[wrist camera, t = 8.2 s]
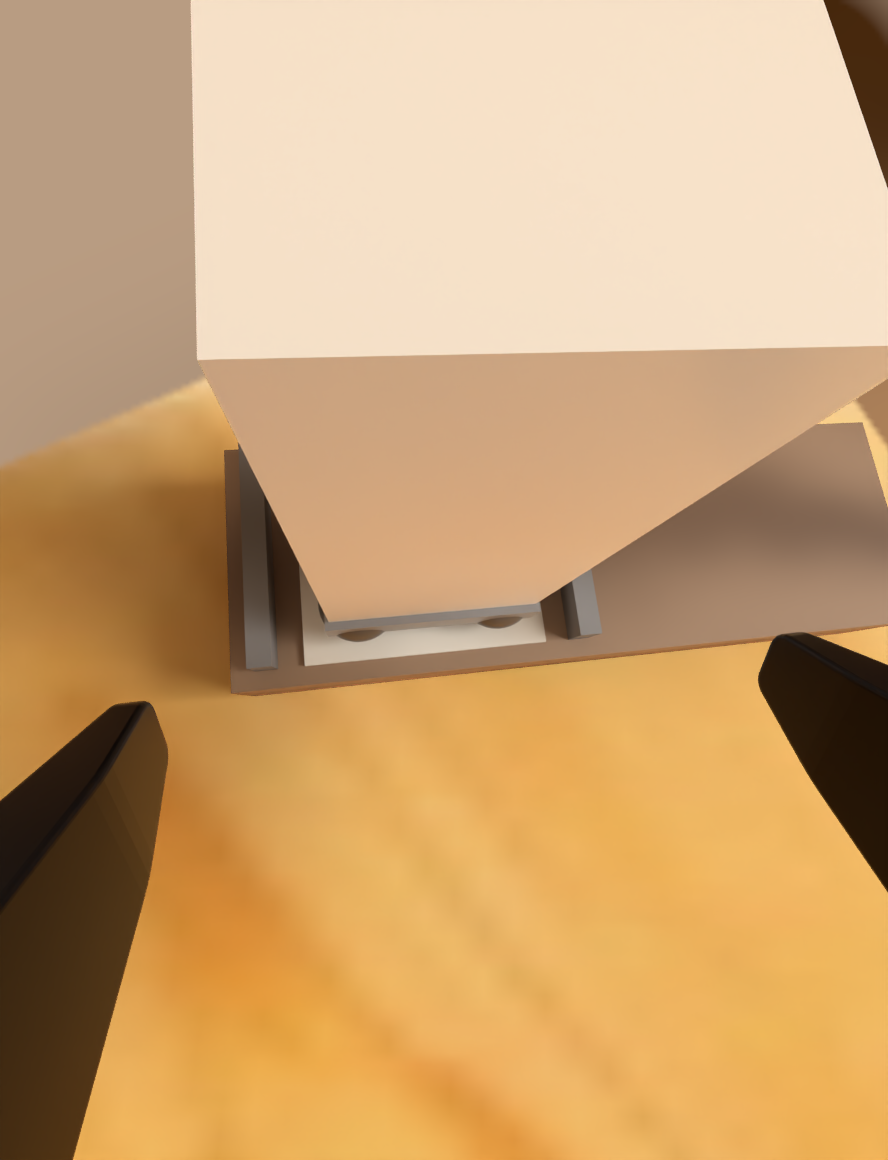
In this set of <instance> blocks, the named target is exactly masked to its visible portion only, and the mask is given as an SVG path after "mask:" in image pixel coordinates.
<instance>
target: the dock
mask: <svg viewBox="0 0 888 1160" xmlns="http://www.w3.org/2000/svg"><path fill="white" fill-rule="evenodd" d="M238 447H239V450H224V459H225V494H226V529H227V565H228V600H229V635H230V670H231V693H232V694H241V695H251V696H260V695H269V694H278V693H288V692H297V691H306V690H316V689H325V688H334V687H344V686H353V685H362V684H372V683H381V682H390V681H400V680H409V679H418V678H428V677H437V676H446V675H456V674H465V673H475V672H484V671H493V670H503V669H512V668H521V667H531V666H540V665H549V664H559V663H568V662H577V661H587V660H596V659H605V658H615V657H624V656H633V655H643V654H652V653H661V652H671V651H680V650H689V649H699V648H708V647H718V646H727V645H736V644H746V643H755V642H764V641H773V639H774V638H775V637H776V636H778V635H780V634H785V633H795V632H806V633H809V634H812V635H814V636H820V635H830V634H839V633H846V632H853V631H859V630H865V629H871V628H877V627H884V626H888V507H887V504H886V501H885V497H884V494H883V490H882V487H881V484H880V480H879V477H878V474H877V470H876V467H875V464H874V460H873V457H872V453H871V450H870V447H869V443H868V440H867V437H866V433H865V430H864V427H863V423H839V424H816V425H815V426H813V427H811V428H810V429H808V430H807V431H805V432H804V433H802V434H800V435H799V436H797V437H796V438H794V439H793V440H791V441H790V442H788V443H786V444H785V445H783V446H782V447H780V448H779V449H777V450H775V451H774V452H772V453H771V454H769V455H768V456H766V457H765V458H763V459H761V460H760V461H758V462H757V463H755V464H754V465H752V466H750V467H749V468H747V469H746V470H744V471H743V472H741V473H740V474H738V475H736V476H735V477H733V478H732V479H730V480H729V481H727V482H725V483H724V484H722V485H721V486H719V487H718V488H716V489H715V490H713V491H711V492H710V493H708V494H707V495H705V496H704V497H702V498H700V499H699V500H697V501H696V502H694V503H693V504H691V505H690V506H688V507H686V508H685V509H683V510H682V511H680V512H679V513H677V514H675V515H674V516H672V517H671V518H669V519H668V520H666V521H665V522H663V523H661V524H660V525H658V526H657V527H655V528H654V529H652V530H650V531H649V532H647V533H646V534H644V535H643V536H641V537H640V538H638V539H636V540H635V541H633V542H632V543H630V544H629V545H627V546H625V547H624V548H622V549H621V550H619V551H618V552H616V553H615V554H613V555H611V556H610V557H608V558H607V559H605V560H604V561H602V562H600V563H599V564H597V565H596V566H594V567H593V568H591V569H590V570H588V571H586V572H585V573H583V574H582V575H580V576H579V577H577V578H575V579H574V580H572V581H571V582H569V583H568V584H566V585H565V586H563V587H561V588H560V589H558V590H557V591H555V592H554V593H552V594H550V595H549V596H547V597H546V598H544V599H543V600H541V601H540V608H541V612H539V613H537V614H536V615H534V616H532V617H531V618H524V619H521V620H520V621H519V622H517V623H516V624H514V625H512V626H509V627H506V628H501V629H492V628H487V627H484V626H481V625H479V624H477V623H471V624H460V625H449V626H438V627H428V628H417V629H406V630H396V631H385V632H384V633H382V634H381V635H380V636H378V637H376V638H374V639H372V640H369V641H364V642H351V641H346V640H344V639H341V638H339V637H337V636H331V637H328V635H327V634H326V632H325V624H324V623H323V621H322V619H321V617H320V613H319V609H318V600H317V598H316V596H315V594H314V592H313V590H312V588H311V586H310V584H309V582H308V580H307V578H306V576H305V574H304V572H303V570H302V568H301V566H300V564H299V562H298V560H297V558H296V556H295V554H294V552H293V550H292V548H291V546H290V544H289V542H288V540H287V538H286V536H285V534H284V532H283V530H282V528H281V526H280V524H279V522H278V520H277V518H276V516H275V514H274V512H273V510H272V508H271V506H270V504H269V502H268V500H267V498H266V496H265V494H264V492H263V490H262V488H261V486H260V484H259V482H258V480H257V478H256V476H255V474H254V472H253V470H252V468H251V466H250V464H249V462H248V460H247V458H246V456H245V454H244V452H243V450H242V448H241V446H240V444H239V442H238Z"/></svg>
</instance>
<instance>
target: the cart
mask: <svg viewBox="0 0 888 1160" xmlns="http://www.w3.org/2000/svg"><path fill="white" fill-rule="evenodd" d="M191 33H192V34H191V40H192V97H193V152H194V207H195V208H194V210H195V263H196V266H195V267H196V322H197V361H198V362H199V365H200V366H201V368H202V371H203V373H204V375H205V377H206V379H207V381H208V383H209V385H210V386H211V388H212V390H213V392H214V394H215V396H216V398H217V400H218V402H219V404H220V406H221V408H222V410H223V412H224V414H225V416H226V418H227V420H228V422H229V424H230V426H231V428H232V430H233V432H234V434H235V436H236V438H237V440H238V442H239V444H240V446H241V448H242V450H243V452H244V454H245V456H246V458H247V460H248V462H249V464H250V466H251V468H252V470H253V472H254V474H255V476H256V478H257V480H258V482H259V484H260V486H261V488H262V490H263V492H264V494H265V496H266V498H267V500H268V502H269V504H270V506H271V508H272V510H273V512H274V514H275V516H276V518H277V520H278V522H279V524H280V526H281V528H282V530H283V532H284V534H285V536H286V538H287V540H288V542H289V544H290V546H291V548H292V550H293V552H294V554H295V556H296V558H297V560H298V562H299V564H300V566H301V568H302V570H303V572H304V574H305V576H306V578H307V580H308V582H309V584H310V586H311V588H312V590H313V592H314V594H315V596H316V598H317V600H318V609H319V613H320V617H321V619H322V621H323V623H324V624H325V632H326V634H327V635H328V637H331V636H337V637H339V638H341V639H344V640H346V641H351V642H364V641H369V640H372V639H374V638H376V637H378V636H380V635H381V634H382V633H384V632H385V631H396V630H406V629H417V628H428V627H438V626H449V625H460V624H471V623H477V624H479V625H481V626H484V627H487V628H492V629H501V628H506V627H509V626H512V625H514V624H516V623H517V622H519V621H520V620H521V619H524V618H531V617H532V616H534V615H536V614H537V613H539V612H541V608H540V601H541V600H543V599H544V598H546V597H547V596H549V595H550V594H552V593H554V592H555V591H557V590H558V589H560V588H561V587H563V586H565V585H566V584H568V583H569V582H571V581H572V580H574V579H575V578H577V577H579V576H580V575H582V574H583V573H585V572H586V571H588V570H590V569H591V568H593V567H594V566H596V565H597V564H599V563H600V562H602V561H604V560H605V559H607V558H608V557H610V556H611V555H613V554H615V553H616V552H618V551H619V550H621V549H622V548H624V547H625V546H627V545H629V544H630V543H632V542H633V541H635V540H636V539H638V538H640V537H641V536H643V535H644V534H646V533H647V532H649V531H650V530H652V529H654V528H655V527H657V526H658V525H660V524H661V523H663V522H665V521H666V520H668V519H669V518H671V517H672V516H674V515H675V514H677V513H679V512H680V511H682V510H683V509H685V508H686V507H688V506H690V505H691V504H693V503H694V502H696V501H697V500H699V499H700V498H702V497H704V496H705V495H707V494H708V493H710V492H711V491H713V490H715V489H716V488H718V487H719V486H721V485H722V484H724V483H725V482H727V481H729V480H730V479H732V478H733V477H735V476H736V475H738V474H740V473H741V472H743V471H744V470H746V469H747V468H749V467H750V466H752V465H754V464H755V463H757V462H758V461H760V460H761V459H763V458H765V457H766V456H768V455H769V454H771V453H772V452H774V451H775V450H777V449H779V448H780V447H782V446H783V445H785V444H786V443H788V442H790V441H791V440H793V439H794V438H796V437H797V436H799V435H800V434H802V433H804V432H805V431H807V430H808V429H810V428H811V427H813V426H815V425H816V424H818V423H819V422H821V421H822V420H824V419H825V418H827V417H829V416H830V415H832V414H833V413H835V412H836V411H838V410H840V409H841V408H843V407H844V406H846V405H847V404H849V403H850V402H852V401H854V400H855V399H857V398H858V397H860V396H861V395H863V394H865V393H866V392H868V391H869V390H871V389H872V388H874V387H875V386H877V385H879V384H880V383H882V382H883V381H885V380H886V379H888V189H887V186H886V183H885V180H884V177H883V174H882V171H881V168H880V165H879V162H878V159H877V157H876V153H875V151H874V148H873V145H872V142H871V139H870V136H869V133H868V130H867V127H866V124H865V121H864V119H863V115H862V112H861V110H860V107H859V104H858V101H857V98H856V95H855V92H854V89H853V86H852V83H851V80H850V77H849V74H848V71H847V68H846V66H845V63H844V60H843V57H842V54H841V51H840V48H839V45H838V42H837V39H836V36H835V33H834V30H833V27H832V25H831V22H830V19H829V16H828V13H827V10H826V7H825V4H824V1H823V0H191Z"/></svg>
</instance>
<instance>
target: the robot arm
mask: <svg viewBox="0 0 888 1160" xmlns="http://www.w3.org/2000/svg"><path fill="white" fill-rule="evenodd" d="M758 683H759V687H760V690H761V692H762V694H763V696H764V698H765V699H766V701H767V703H768V705H769V707H770V708H771V710H772V712H773V714H774V716H775V717H776V719H777V721H778V723H779V725H780V726H781V728H782V730H783V732H784V733H785V735H786V737H787V739H788V741H789V742H790V744H791V746H792V748H793V750H794V751H795V753H796V755H797V757H798V758H799V760H800V762H801V764H802V766H803V767H804V769H805V771H806V772H807V774H808V776H809V777H810V779H811V781H812V782H813V784H814V785H815V787H816V788H817V790H818V791H819V793H820V794H821V796H822V797H823V799H824V800H825V802H826V803H827V804H828V806H829V807H830V809H831V810H832V812H833V813H834V815H835V816H836V818H837V819H838V820H839V822H840V823H841V825H842V826H843V828H844V829H845V831H846V832H847V834H848V835H849V837H850V838H851V839H852V841H853V842H854V844H855V845H856V847H857V848H858V850H859V851H860V853H861V854H862V855H863V857H864V858H865V860H866V861H867V863H868V864H869V866H870V867H871V869H872V870H873V871H874V873H875V874H876V876H877V877H878V879H879V880H880V882H881V883H882V885H883V886H884V888H885V889H886V890H887V892H888V665H887V664H884V663H882V662H879V661H877V660H874V659H872V658H869V657H867V656H864V655H862V654H859V653H857V652H854V651H852V650H849V649H847V648H844V647H842V646H839V645H837V644H834V643H832V642H829V641H827V640H824V639H822V638H819V637H817V636H814V635H812V634H809V633H806V632H795V633H785V634H780V635H778V636H776V637H775V638H774V639H773V641H772V642H771V645H770V647H769V650H768V652H767V655H766V657H765V660H764V662H763V664H762V667H761V669H760V672H759V675H758ZM167 765H168V748H167V743H166V741H165V738H164V735H163V732H162V730H161V727H160V724H159V721H158V719H157V716H156V713H155V710H154V708H153V706H152V705H151V704H150V703H149V702H146V701H138V702H129V703H120V704H116V705H113V706H112V707H110V708H109V709H107V710H106V711H105V712H104V713H103V714H102V715H100V716H99V717H98V718H97V719H96V720H95V721H93V722H92V723H91V724H90V725H89V726H88V727H86V728H85V729H84V730H83V731H82V732H81V733H79V734H78V735H77V736H76V737H75V738H73V739H72V740H71V741H70V742H69V743H68V744H66V745H65V746H64V747H63V748H62V749H61V750H59V751H58V752H57V753H56V754H55V755H54V756H52V757H51V758H50V759H49V760H48V761H46V762H45V763H44V764H43V765H42V766H41V767H39V768H38V769H37V770H36V771H35V772H34V773H32V774H31V775H30V776H29V777H28V778H27V779H25V780H24V781H23V782H22V783H21V784H19V785H18V786H17V787H16V788H15V789H14V790H12V791H11V792H10V793H9V794H8V795H7V796H5V797H4V798H3V799H2V800H1V801H0V1160H73V1157H74V1154H75V1150H76V1146H77V1143H78V1139H79V1135H80V1132H81V1128H82V1124H83V1121H84V1117H85V1113H86V1110H87V1106H88V1102H89V1099H90V1095H91V1091H92V1088H93V1084H94V1080H95V1077H96V1073H97V1069H98V1066H99V1062H100V1058H101V1055H102V1051H103V1047H104V1044H105V1040H106V1036H107V1033H108V1029H109V1025H110V1022H111V1018H112V1015H113V1011H114V1007H115V1004H116V1000H117V996H118V993H119V989H120V985H121V982H122V978H123V974H124V971H125V967H126V963H127V960H128V956H129V952H130V949H131V945H132V941H133V938H134V934H135V930H136V927H137V923H138V919H139V916H140V912H141V908H142V905H143V901H144V897H145V893H146V889H147V885H148V881H149V877H150V872H151V866H152V861H153V855H154V848H155V842H156V835H157V829H158V823H159V816H160V810H161V803H162V797H163V790H164V784H165V778H166V771H167Z"/></svg>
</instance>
